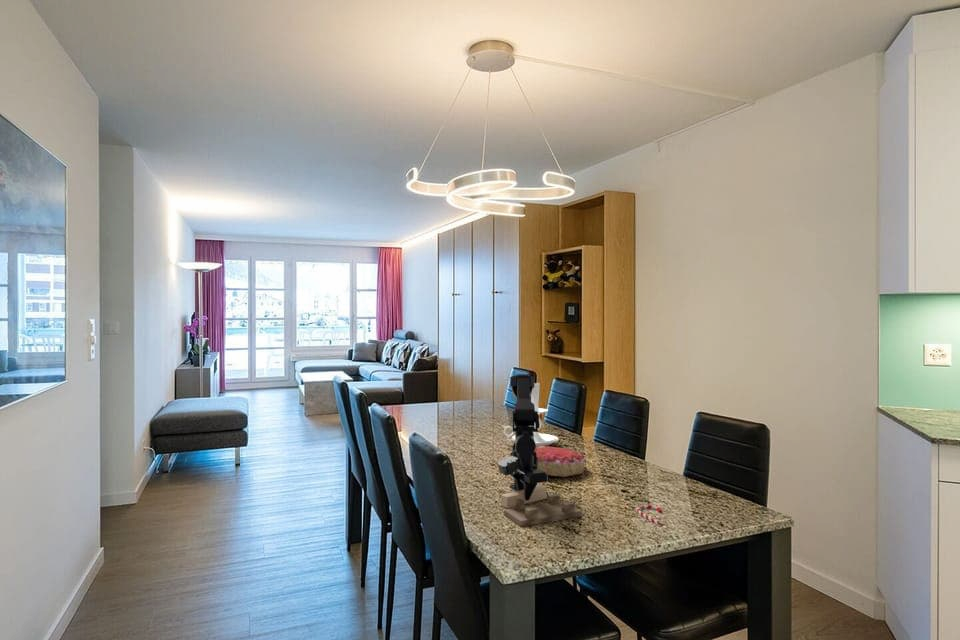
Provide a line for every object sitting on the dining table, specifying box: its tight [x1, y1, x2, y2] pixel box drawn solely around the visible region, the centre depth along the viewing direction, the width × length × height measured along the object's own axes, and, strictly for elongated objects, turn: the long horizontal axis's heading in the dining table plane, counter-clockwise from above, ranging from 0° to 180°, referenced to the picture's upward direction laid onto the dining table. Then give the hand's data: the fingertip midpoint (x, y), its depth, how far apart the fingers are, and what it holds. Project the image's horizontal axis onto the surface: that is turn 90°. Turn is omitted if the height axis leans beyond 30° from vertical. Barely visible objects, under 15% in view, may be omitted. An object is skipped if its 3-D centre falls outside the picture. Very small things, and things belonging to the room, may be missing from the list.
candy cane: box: [635, 504, 663, 527], centre depth 166 cm, size 8×1×15 cm
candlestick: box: [502, 382, 559, 447], centre depth 255 cm, size 21×25×28 cm
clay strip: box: [500, 485, 548, 509], centre depth 178 cm, size 16×3×4 cm, turn 127°
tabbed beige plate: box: [503, 493, 583, 527], centre depth 166 cm, size 20×10×4 cm, turn 114°
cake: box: [535, 445, 585, 479], centre depth 215 cm, size 25×25×8 cm
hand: (524, 498), depth 178 cm, fingers closed on clay strip, 3 cm apart
